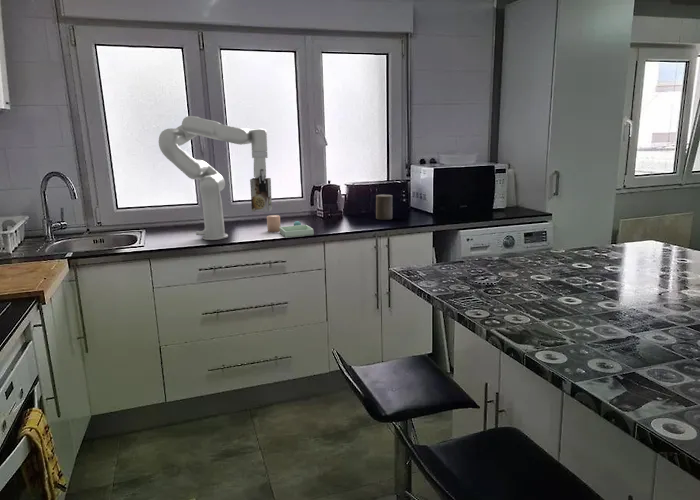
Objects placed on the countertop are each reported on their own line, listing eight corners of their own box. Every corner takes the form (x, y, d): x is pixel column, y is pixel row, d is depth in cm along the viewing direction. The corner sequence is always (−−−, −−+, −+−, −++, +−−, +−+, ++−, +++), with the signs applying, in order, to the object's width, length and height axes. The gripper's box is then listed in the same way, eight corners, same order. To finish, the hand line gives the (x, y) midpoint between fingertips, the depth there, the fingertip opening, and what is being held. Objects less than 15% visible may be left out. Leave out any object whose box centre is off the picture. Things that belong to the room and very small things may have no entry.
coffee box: (272, 209, 258) (271, 177, 254) (269, 211, 252) (268, 179, 248) (254, 209, 259) (253, 177, 255) (251, 211, 252) (249, 178, 249)
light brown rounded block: (268, 232, 269) (267, 217, 267) (266, 230, 275) (265, 215, 274) (282, 231, 271) (281, 216, 269) (279, 229, 278) (278, 214, 276)
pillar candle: (378, 220, 295) (378, 194, 292) (374, 217, 304) (373, 192, 301) (394, 219, 298) (394, 193, 294) (389, 216, 307) (389, 191, 303)
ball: (294, 229, 276) (294, 222, 275) (293, 228, 279) (292, 220, 278) (302, 228, 277) (301, 221, 276) (300, 227, 281) (299, 220, 280)
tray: (285, 237, 254) (285, 231, 253) (279, 232, 268) (279, 227, 267) (313, 235, 258) (313, 229, 258) (306, 230, 272) (306, 224, 271)
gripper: (249, 154, 256) (251, 189, 260) (254, 155, 240) (256, 192, 244) (264, 154, 258) (265, 188, 262) (270, 155, 242) (271, 192, 246)
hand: (261, 190), depth 253 cm, fingers closed on coffee box, 8 cm apart
